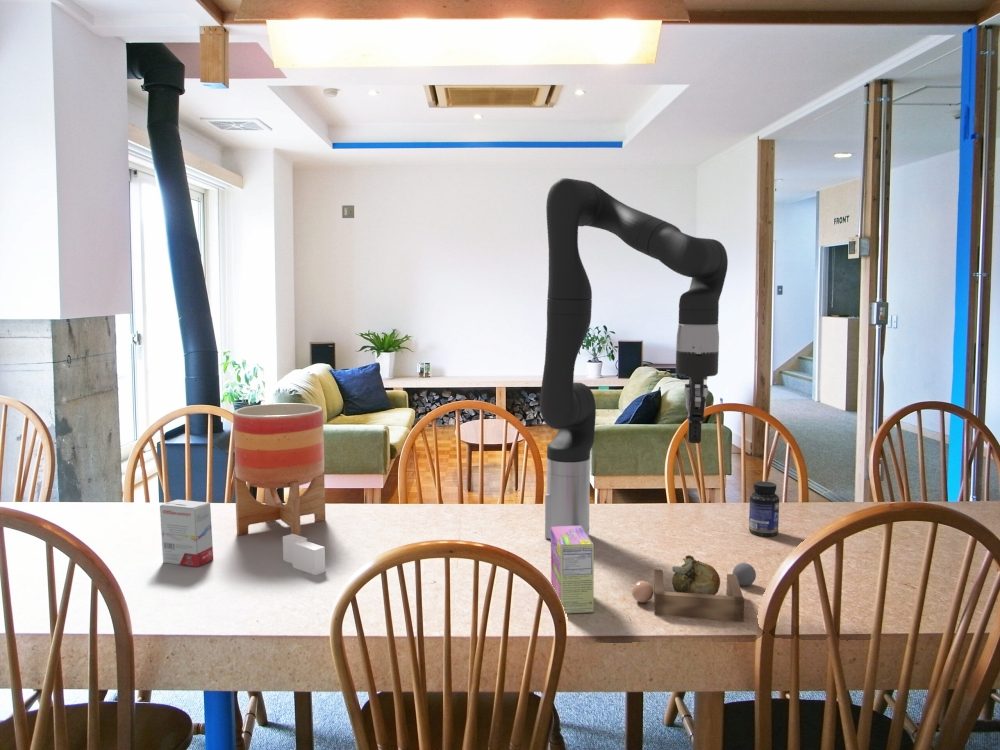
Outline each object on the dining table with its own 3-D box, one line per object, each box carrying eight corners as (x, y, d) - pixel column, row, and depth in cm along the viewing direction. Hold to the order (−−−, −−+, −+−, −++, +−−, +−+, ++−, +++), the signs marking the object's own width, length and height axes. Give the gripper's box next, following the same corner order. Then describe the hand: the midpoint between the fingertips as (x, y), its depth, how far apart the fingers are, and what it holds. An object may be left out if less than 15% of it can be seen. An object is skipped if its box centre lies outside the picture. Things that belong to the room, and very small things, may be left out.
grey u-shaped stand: (654, 614, 125) (655, 594, 125) (653, 588, 137) (654, 569, 136) (743, 621, 123) (744, 600, 123) (735, 593, 134) (735, 574, 134)
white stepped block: (335, 578, 143) (334, 549, 142) (272, 584, 140) (271, 553, 140) (334, 552, 157) (333, 525, 157) (276, 556, 155) (276, 529, 154)
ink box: (214, 559, 152) (212, 501, 150) (197, 568, 147) (194, 508, 146) (179, 554, 154) (176, 497, 153) (161, 562, 150) (158, 504, 149)
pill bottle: (780, 538, 164) (782, 487, 163) (750, 536, 166) (752, 486, 164) (775, 529, 170) (777, 480, 169) (747, 527, 172) (748, 479, 170)
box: (550, 590, 136) (550, 525, 135) (581, 589, 136) (582, 524, 135) (559, 615, 126) (559, 545, 124) (593, 613, 126) (594, 544, 125)
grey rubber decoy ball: (733, 588, 137) (734, 566, 136) (731, 580, 140) (731, 559, 140) (757, 590, 136) (757, 568, 135) (753, 581, 140) (754, 560, 139)
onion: (717, 612, 127) (719, 565, 126) (668, 605, 129) (669, 559, 128) (721, 595, 134) (722, 550, 133) (674, 589, 136) (675, 545, 136)
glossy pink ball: (631, 605, 129) (631, 584, 129) (631, 597, 133) (632, 576, 132) (653, 606, 129) (653, 586, 128) (652, 598, 132) (653, 578, 132)
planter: (341, 530, 170) (338, 410, 167) (251, 547, 159) (246, 419, 156) (309, 509, 186) (306, 400, 184) (225, 523, 175) (220, 407, 172)
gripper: (675, 346, 147) (672, 435, 149) (677, 351, 134) (674, 448, 136) (715, 346, 145) (712, 436, 147) (722, 352, 132) (718, 450, 134)
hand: (694, 442), depth 141 cm, fingers closed
